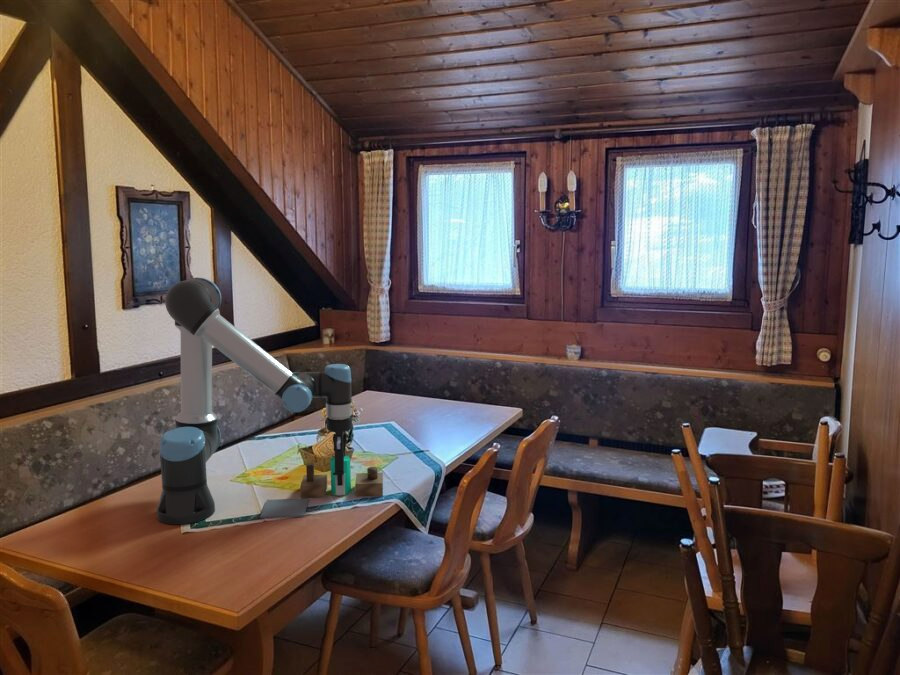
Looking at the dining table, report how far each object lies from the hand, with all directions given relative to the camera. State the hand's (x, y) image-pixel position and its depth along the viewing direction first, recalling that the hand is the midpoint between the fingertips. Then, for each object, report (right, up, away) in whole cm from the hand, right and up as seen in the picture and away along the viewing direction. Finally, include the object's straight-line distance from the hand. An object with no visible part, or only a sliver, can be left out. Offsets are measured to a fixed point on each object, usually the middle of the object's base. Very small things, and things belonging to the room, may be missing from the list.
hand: (341, 490), depth 217 cm
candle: (0, -1, 0) cm, 1 cm away
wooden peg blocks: (0, 0, 0) cm, 0 cm away
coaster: (-14, -3, -13) cm, 19 cm away
